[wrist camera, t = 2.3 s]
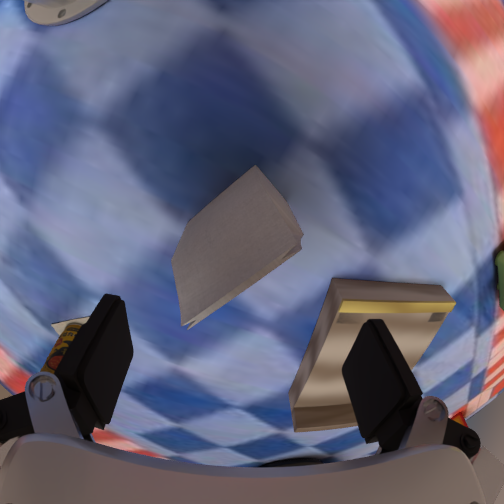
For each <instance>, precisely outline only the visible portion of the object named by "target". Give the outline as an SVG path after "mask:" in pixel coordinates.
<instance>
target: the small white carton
mask: <svg viewBox="0 0 504 504" xmlns="http://www.w3.org/2000/svg"><path fill="white" fill-rule="evenodd" d="M303 235H304V234H303V232H302V230H301V228H300V226H299V224H298V222H297V220H296V218H295V216H294V215H293V213H292V211H291V209H290V207H289V205H288V203H287V201H286V200H285V199H284V198H283V196H282V195H281V194H280V193H279V192H278V190H277V189H276V188H275V187H274V186H273V184H272V183H271V182H270V181H269V180H268V179H267V177H266V176H265V175H264V174H263V173H262V172H261V170H260V169H259V168H258V167H257V166H256V165H254V166H253V167H252V168H251V169H249V170H248V171H247V172H246V173H245V174H243V175H242V176H241V177H240V178H239V179H237V180H236V181H235V182H234V183H233V184H231V185H230V186H229V187H228V188H227V189H225V190H224V191H223V192H222V193H221V194H220V195H218V196H217V197H216V198H215V199H214V200H213V201H211V202H210V203H209V204H208V205H207V206H206V207H205V208H203V209H202V210H201V211H200V212H199V213H198V214H197V215H195V216H194V217H193V218H192V219H191V220H190V221H189V222H188V223H187V225H186V227H185V230H184V232H183V234H182V236H181V239H180V241H179V243H178V246H177V248H176V251H175V253H174V255H173V258H172V260H171V262H172V268H173V273H174V278H175V283H176V288H177V293H178V298H179V305H180V312H181V326H183V325H185V324H188V323H190V324H189V326H188V329H189V328H191V327H192V326H194V325H195V324H197V323H198V322H200V321H201V320H203V319H204V318H206V317H207V316H208V315H210V314H211V313H213V312H214V311H216V310H217V309H219V308H220V307H221V306H223V305H224V304H226V303H227V302H229V301H230V300H232V299H233V298H234V297H236V296H237V295H239V294H240V293H242V292H243V291H244V290H246V289H247V288H249V287H250V286H251V285H253V284H254V283H256V282H257V281H258V280H260V279H261V278H263V277H264V276H265V275H267V274H268V273H270V272H271V271H272V270H274V269H275V268H277V267H278V266H279V265H281V264H282V263H284V262H285V261H286V260H288V259H289V258H290V257H292V256H293V255H295V254H296V253H297V252H299V251H300V250H301V249H302V247H301V238H302V236H303ZM188 329H187V330H188Z"/></svg>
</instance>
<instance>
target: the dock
mask: <svg viewBox="0 0 504 504" xmlns="http://www.w3.org/2000/svg"><path fill="white" fill-rule="evenodd" d="M455 304H456V302H455V301H454V300H453V298H452V297H451V296H450V295H449V294H448V293H447V292H446V290H445V289H444V288H443V287H442V286H441V285H426V284H409V283H393V282H378V281H364V280H350V279H337V278H332V280H331V283H330V286H329V289H328V292H327V295H326V298H325V301H324V304H323V307H322V310H321V313H320V315H319V318H318V321H317V324H316V326H315V329H314V332H313V334H312V337H311V340H310V342H309V345H308V347H307V350H306V352H305V355H304V357H303V360H302V362H301V365H300V367H299V370H298V372H297V374H296V377H295V379H294V382H293V384H292V386H291V388H290V391H289V400H290V406H291V413H292V419H293V426H294V432H308V431H320V430H330V429H338V428H346V427H352V426H358V424H357V420H356V417H355V414H354V410H353V407H352V404H351V400H350V397H349V394H348V391H347V388H346V385H345V381H344V378H343V375H342V366H343V364H344V362H345V360H346V358H347V356H348V354H349V352H350V350H351V348H352V346H353V344H354V342H355V340H356V338H357V336H358V333H359V331H360V329H361V327H362V325H363V323H364V322H367V320H368V319H382V320H383V321H384V322H385V324H386V326H387V328H388V329H389V331H390V333H391V334H392V336H393V338H394V340H395V342H396V343H397V345H398V347H399V349H400V351H401V352H402V354H403V356H404V358H405V360H406V362H407V364H408V365H409V367H410V369H411V370H412V369H413V367H414V366H415V365H416V363H417V362H418V360H419V359H420V358H421V356H422V355H423V353H424V352H425V350H426V349H427V347H428V346H429V344H430V343H431V341H432V339H433V338H434V336H435V335H436V333H437V331H438V330H439V328H440V326H441V325H442V323H443V321H444V320H445V318H446V316H447V314H448V313H449V312H451V311H452V310H453V308H454V306H455Z"/></svg>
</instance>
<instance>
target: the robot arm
mask: <svg viewBox="0 0 504 504" xmlns="http://www.w3.org/2000/svg"><path fill="white" fill-rule="evenodd" d="M24 1H25V4H24V5H25V12H26V14H27V16H28V18H29V19H30V20H31V21H32V22H35V23H37V24H40V25H45V26H57V25H61V24H65V23H68V22H71V21H73V20H75V19H78V18H80V17H82V16H84V15H86V14H87V13H89V12H91V11H93V10H94V9H96V8H97V7H99V6H100V5H102V4H103V3H105V2H106V1H107V0H24ZM132 357H133V345H132V340H131V335H130V330H129V325H128V319H127V313H126V307H125V302H124V301H123V300H121V298H120V296H117V295H111V294H105V295H104V296H103V297H102V299H101V300H100V302H99V303H98V305H97V306H96V308H95V309H94V311H93V313H92V314H91V316H90V317H89V319H88V320H87V322H86V323H84V324H83V325H82V326H81V327H80V329H79V330H78V332H77V334H76V335H75V337H74V338H73V340H72V342H71V344H70V345H69V347H68V349H67V350H66V352H65V354H64V356H63V357H62V359H61V361H60V363H59V364H58V366H57V368H56V370H55V372H54V374H52V373H50V372H38V373H36V374H34V375H32V376H31V377H30V378H29V379H28V381H27V382H26V386H25V392H22V393H19V394H16V395H13V396H10V397H8V398H5V399H2V400H0V504H493V503H494V501H495V500H496V498H497V496H498V494H499V492H500V490H501V488H502V486H503V484H504V465H503V464H502V463H501V462H500V461H499V460H498V459H497V458H496V457H495V456H494V455H492V454H491V453H490V452H489V451H488V450H487V449H486V448H485V447H484V446H482V447H481V448H480V439H479V437H478V435H477V433H476V432H475V431H473V430H472V429H470V428H468V427H466V426H464V425H462V424H460V423H458V422H456V421H454V420H452V419H450V418H448V409H447V406H446V405H445V403H444V402H443V401H442V400H441V399H439V398H437V397H434V396H427V397H425V398H423V399H422V397H421V395H422V394H423V393H422V391H421V389H420V387H419V385H418V383H417V381H416V379H415V377H414V375H413V373H412V371H411V369H410V367H409V365H408V364H407V362H406V360H405V358H404V356H403V354H402V352H401V351H400V349H399V347H398V345H397V343H396V342H395V340H394V338H393V336H392V334H391V333H390V331H389V329H388V328H387V326H386V324H385V322H384V321H383V320H382V319H368V320H367V322H364V323H363V325H362V327H361V329H360V331H359V333H358V336H357V338H356V340H355V342H354V344H353V346H352V348H351V350H350V352H349V354H348V356H347V358H346V360H345V362H344V364H343V366H342V375H343V378H344V381H345V385H346V388H347V391H348V394H349V397H350V400H351V404H352V407H353V410H354V414H355V417H356V420H357V424H358V427H359V430H360V434H361V436H362V437H363V438H365V441H366V444H368V443H373V442H379V445H380V446H379V448H378V450H377V452H376V454H375V455H374V456H368V457H363V458H358V459H353V460H347V461H340V462H334V463H326V464H317V465H307V466H293V467H267V468H252V467H226V466H212V465H202V464H193V463H185V462H178V461H172V460H166V459H161V458H155V457H150V456H146V455H141V454H136V453H132V452H128V451H124V450H120V449H116V448H112V447H109V446H105V445H102V444H98V443H96V442H95V440H94V438H93V436H92V434H91V433H93V430H94V427H96V428H99V429H102V430H104V427H105V424H109V423H110V421H111V418H112V415H113V412H114V409H115V406H116V403H117V400H118V397H119V394H120V391H121V388H122V385H123V382H124V379H125V377H126V374H127V371H128V368H129V366H130V363H131V360H132Z"/></svg>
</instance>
